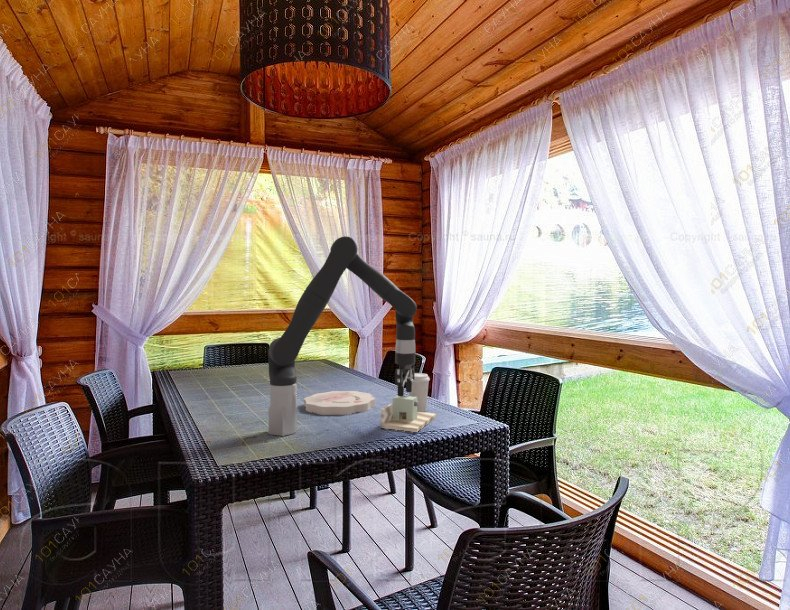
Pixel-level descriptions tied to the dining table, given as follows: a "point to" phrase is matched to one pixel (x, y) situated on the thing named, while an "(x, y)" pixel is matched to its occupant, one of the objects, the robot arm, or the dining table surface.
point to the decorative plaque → (339, 402)
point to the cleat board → (404, 420)
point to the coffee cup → (420, 390)
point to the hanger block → (405, 407)
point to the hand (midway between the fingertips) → (404, 394)
